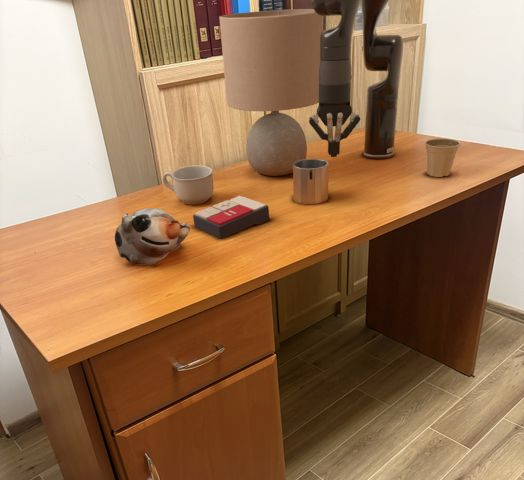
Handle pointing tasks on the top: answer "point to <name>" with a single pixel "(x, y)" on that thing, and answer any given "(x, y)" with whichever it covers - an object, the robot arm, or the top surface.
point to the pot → (310, 181)
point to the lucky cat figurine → (149, 236)
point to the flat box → (231, 216)
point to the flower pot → (440, 156)
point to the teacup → (191, 183)
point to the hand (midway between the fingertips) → (333, 156)
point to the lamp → (272, 80)
